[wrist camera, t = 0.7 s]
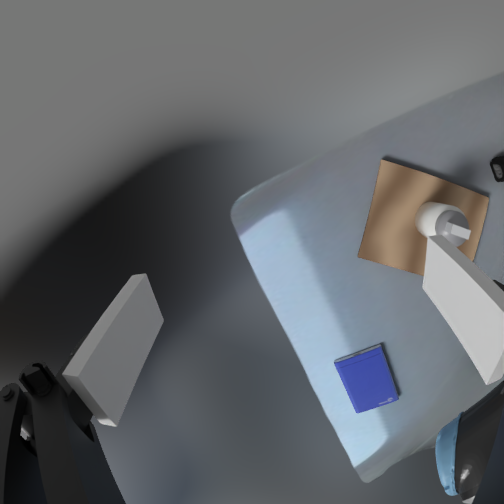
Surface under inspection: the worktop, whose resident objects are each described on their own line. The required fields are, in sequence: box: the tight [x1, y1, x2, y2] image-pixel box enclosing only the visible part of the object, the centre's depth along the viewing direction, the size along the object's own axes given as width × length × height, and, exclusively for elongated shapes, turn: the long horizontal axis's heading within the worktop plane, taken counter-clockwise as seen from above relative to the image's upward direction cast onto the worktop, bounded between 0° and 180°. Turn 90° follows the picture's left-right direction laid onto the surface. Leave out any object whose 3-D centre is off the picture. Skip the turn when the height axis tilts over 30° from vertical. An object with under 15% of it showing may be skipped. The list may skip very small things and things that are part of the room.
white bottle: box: [415, 202, 471, 247], centre depth 30 cm, size 5×5×12 cm
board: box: [358, 160, 489, 276], centre depth 36 cm, size 18×14×1 cm
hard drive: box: [334, 344, 399, 413], centre depth 44 cm, size 2×8×12 cm
